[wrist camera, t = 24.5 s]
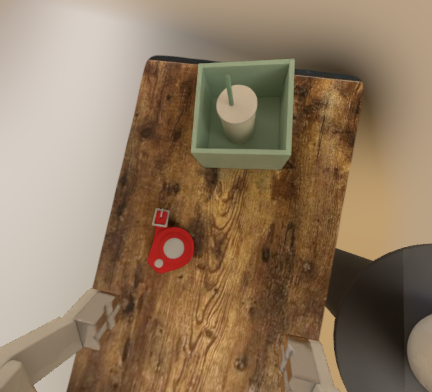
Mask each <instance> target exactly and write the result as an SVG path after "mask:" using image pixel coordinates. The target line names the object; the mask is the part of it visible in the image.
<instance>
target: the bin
mask: <svg viewBox="0 0 432 392" xmlns="http://www.w3.org/2000/svg"><path fill="white" fill-rule="evenodd" d="M294 64H295V59H282V60H281V59H280V60H262V61H241V62H222V63H202V64H198V75H197V87H196V98H195V110H194V121H193V133H192V145H191V154H192V155H193V156H194V157H195V158H196V159H197V160H198V162H199V163H200V164H201V165H202V166H203V167H208V168H237V169H267V170H281V169H282V167H283V166H284V165H285V163H286V162H287V160H288V159H289V157H290V156H291V145H292V118H293V92H294ZM226 75H230V78H231V86H233V85H244V86H247V87H249V88H250V89H251V90H253V92H254V93H255V95H256V97H257V110H256V113H255V126H254V134H253V136H252V138H251V139H250V140H249V141H248V142H246V143H244V144H239V145H238V144H233V143H231V142H230V141H228V139H227V138H226V136H225V133H224V129H223V125H222V122H221V118H220V117H219V115H218V112H217V107H216V104H217V100H218V97H219V95H220V94H221V93H222V92H223V91H224V90H225V89H226V82H225V76H226Z"/></svg>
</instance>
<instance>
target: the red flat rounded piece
mask: <svg viewBox="0 0 432 392" xmlns="http://www.w3.org/2000/svg"><path fill="white" fill-rule="evenodd" d="M156 213H157V214H156ZM167 213H168V215H167ZM169 213H170V211H169V210H164V209H163V208H162V209H159V208H156V210H155V214H154V218H153V222H152V225H153V226H155V227H156V231H155V235H154V239H153V243H152V247H151V250H150V253H149V256H148V264H149V265H150V266H151V267H152V268H153V269H154V270H155V271H156V272H157V273H160V274H161V273H166V272H169V271H172V270H175V269H178V268H180V267H182V266H184V265H186V264H187V263H188V262H189V261H190V260H191V258H192V256H193V253H194V242H193V239H192V237H191V235H190V234H189V233H188V232H187V231H185V230H184V229H182V228H178V227H170V228H169V225H168V218H169ZM155 217H156V220H155ZM154 221H155V224H154Z"/></svg>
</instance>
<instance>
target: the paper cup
mask: <svg viewBox="0 0 432 392" xmlns="http://www.w3.org/2000/svg"><path fill="white" fill-rule="evenodd" d="M225 82H226V89H225V90H224V91H223V92H222V93H221V94H220V95H219V97H218V100H217V104H216V107H217V112H218V115H219V117H220V118H221V122H222V125H223V129H224V133H225V136H226V138H227V139H228V141H230V142H231V143H233V144H238V145H239V144H244V143H246V142H248V141H249V140H250V139H251V138H252V136H253V134H254V126H255V113H256V110H257V97H256V95H255V93H254V92H253V90H251V89H250V88H249V87H247V86H244V85H233V86H231V78H230V75H226V76H225Z"/></svg>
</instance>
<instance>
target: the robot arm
mask: <svg viewBox="0 0 432 392" xmlns="http://www.w3.org/2000/svg"><path fill="white" fill-rule="evenodd" d="M120 300H121V299H120V295H116V294H112V293H108V292H104V291H101V290H96V289H92V288H91V289H89V290H88V291H87V292H86V293H85V294H84V295H83V296H82V297H81V298H80V299H79V300H78V301H77V302H76V303H75V304H74V305H73V306H72V308H71V309H70V310H69V311H68V312H67V313H66V314H65V315H64V316H63V317H58V318H56V319H54V320H53V321H50V322H49V323H47V324H45V325H43V326H41V327H39V328H37V329H35V330H33V331H31V332H29V333H27V334H26V335H24V336H22V337H20V338H18V339H16V340H14V341H12V342H10V343H8V344H7V345H5V346H2V347H0V392H37V391H36V389H35V387H34V386H33V385H34V384H35V383H37V382H38V381H39V380H41V379H42V378H43V377H45V376H46V375H47V374H49V373H50V372H51V371H52V370H54V369H55V368H57V367H58V366H59V365H61V364H62V363H63V362H64V361H66V360H67V359H68V358H70V357H71V356H72V355H73V354H75V353H76V352H78V351H79V350H80V349H82V348H83V347H87V348H91V349H96V350H100V349H101V347H102V346H103V344H104V343H105V341H106V340H107V338H108V337H109V330H111V329H112V328H114V327H115V326H116V324H117V323H118V321H119V319H120V316H121V313H122V306H121V305H120V304H119V302H120ZM82 346H83V347H82ZM407 357H408V361H409V365H410V367H411V370H412V372H413V374H414V375H415V377H416V379H417V380H418V381H419V383H420V384H421V385H422V386H423V387H424V388H425V389H426V390H427V391H428V392H432V314H431V315H429V316H426V317H425V318H423V319H422V320H420V321H419V322H418V323H417V324H416V325H415V327H414V328H413V329H412V331H411V333H410V335H409V338H408V343H407ZM278 363H279V369H280V371H281V373H282V377H281V380H280V385H281V392H340V390H339V389H336V388H335V387H334V384H333V380H332V377H331V374H330V370H329V367H328V363H327V360H326V357H325V353H324V350H323V346H322V344H321V343H320V342H319V341H315V340H311V339H307V338H303V337H299V336H294V335H289V334H284V336H283V343H282V344H280V348H279V354H278Z"/></svg>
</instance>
